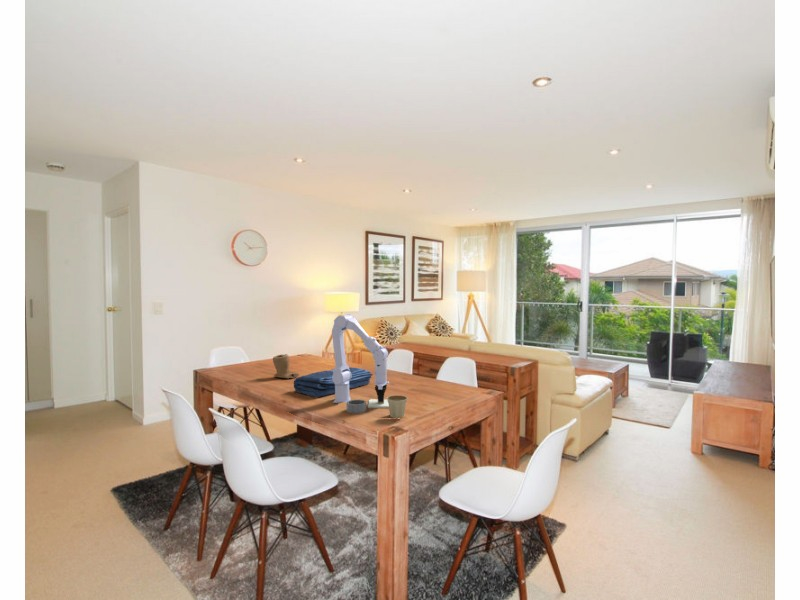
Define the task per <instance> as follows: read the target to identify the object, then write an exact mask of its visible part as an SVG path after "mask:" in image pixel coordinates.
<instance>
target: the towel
mask: <svg viewBox="0 0 800 600" xmlns="http://www.w3.org/2000/svg"><path fill="white" fill-rule="evenodd" d="M333 370H334V368H333V369H330V370H321V371H316V372H313V373H308V374H306V375H301V376H297V377H296V378H294V380H293V389H294V390H295V391H296V392H297V393H299V394H301V393H303V394H302V395H305V394H306V396H308V395H310V396H309V397H312V396H313V398H316V397H318V398H322V397H325V395H326V396H329V394H330V395H334V394H335V383H334V382H333V380H332V376H333ZM349 370H350V372H351V374H352V377H351V379H350V380H349V390H350V389H351V388H352V389H356V388H360V387H363V385H364V386H366V385H368V383H369V384H370V383H371V382H370V381H371V379H372V376H373V372H371V371H370V370H366V369H363V368H360V367H352V366H349ZM359 386H360V387H359ZM333 393H334V394H333ZM321 396H322V397H321Z"/></svg>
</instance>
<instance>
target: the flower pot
mask: <svg viewBox="0 0 800 600" xmlns="http://www.w3.org/2000/svg"><path fill="white" fill-rule="evenodd" d="M386 399H387V400H388V403H389V408H388V410H389V417H390V418H392V419H394V418H395V419H396V420H397V419H398V418H399V419H402V418H403V417H404V416H405V413H406V412H405V410H406V403H407V402H408V397H407V396H405V395H402V394H401V395H398V394H395V395H390V396H387V397H386ZM399 419H398V420H399Z"/></svg>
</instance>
